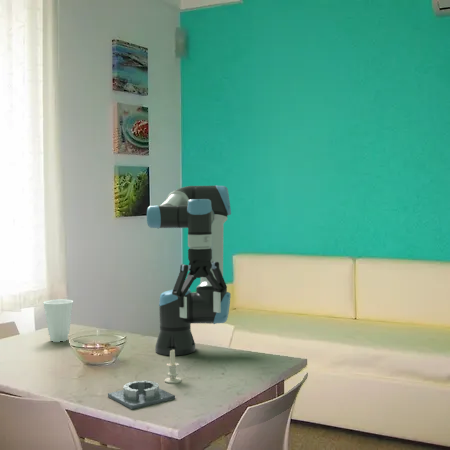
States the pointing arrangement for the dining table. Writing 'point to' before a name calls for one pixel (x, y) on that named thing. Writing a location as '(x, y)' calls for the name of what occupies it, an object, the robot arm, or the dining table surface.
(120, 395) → the ring stand
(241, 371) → the dining table surface
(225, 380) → the dining table surface
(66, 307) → the cup
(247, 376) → the dining table surface
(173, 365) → the candle
